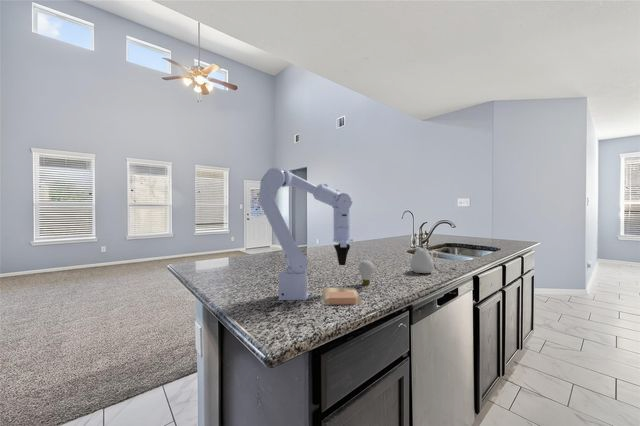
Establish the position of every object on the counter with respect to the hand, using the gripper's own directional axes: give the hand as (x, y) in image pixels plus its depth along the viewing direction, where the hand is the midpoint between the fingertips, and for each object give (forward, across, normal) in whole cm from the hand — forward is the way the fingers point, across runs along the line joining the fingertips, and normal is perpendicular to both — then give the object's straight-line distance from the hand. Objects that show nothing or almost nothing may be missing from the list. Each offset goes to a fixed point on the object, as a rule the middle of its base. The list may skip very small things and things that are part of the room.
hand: (342, 264), depth 96 cm
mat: (+10, -5, +1) cm, 11 cm away
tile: (+8, -8, +1) cm, 12 cm away
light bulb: (+10, +8, -10) cm, 16 cm away
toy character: (+10, +30, -40) cm, 51 cm away
